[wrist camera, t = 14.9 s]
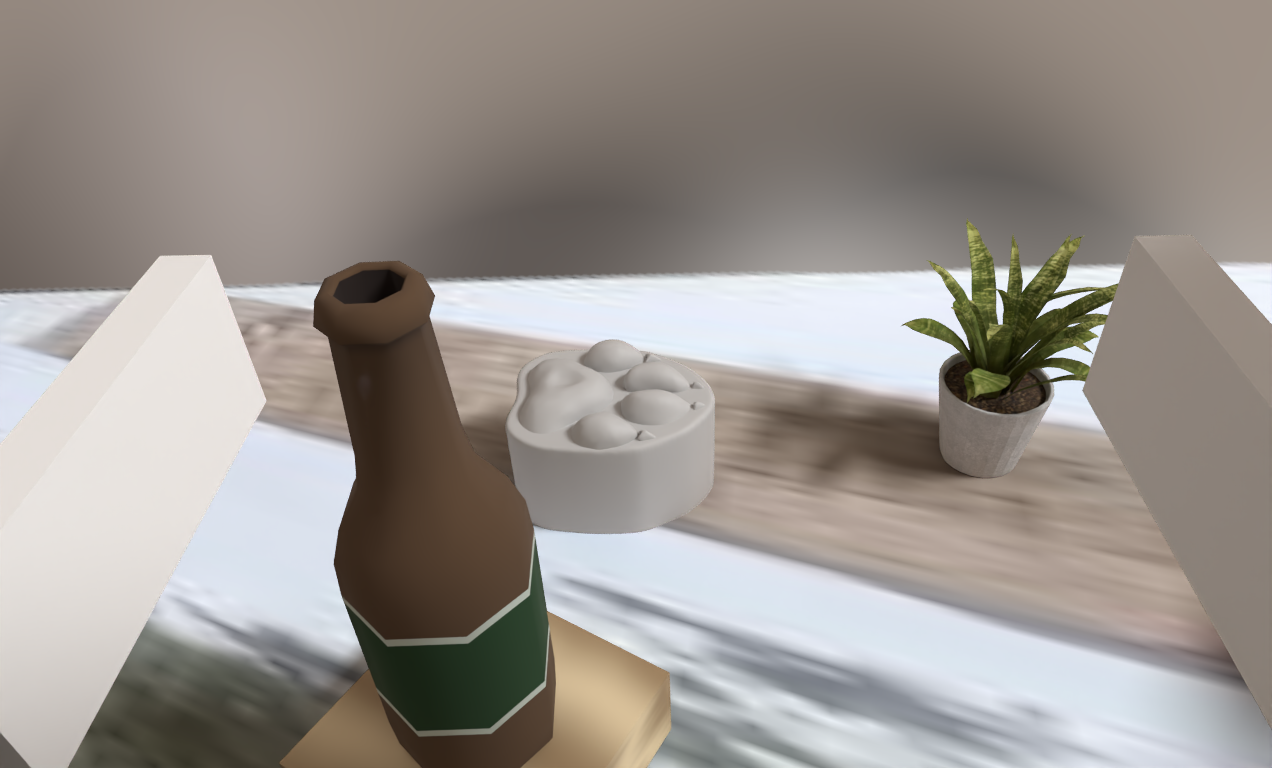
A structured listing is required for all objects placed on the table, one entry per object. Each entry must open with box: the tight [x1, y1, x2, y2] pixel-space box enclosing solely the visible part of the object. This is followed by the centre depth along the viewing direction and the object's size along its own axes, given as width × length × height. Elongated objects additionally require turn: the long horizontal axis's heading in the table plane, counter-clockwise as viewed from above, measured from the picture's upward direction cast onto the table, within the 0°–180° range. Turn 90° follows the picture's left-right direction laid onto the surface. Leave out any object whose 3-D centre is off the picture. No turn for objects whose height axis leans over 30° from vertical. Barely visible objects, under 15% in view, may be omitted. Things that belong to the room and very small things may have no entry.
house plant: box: [902, 219, 1118, 478], centre depth 57 cm, size 14×14×16 cm
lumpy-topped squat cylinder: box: [505, 340, 715, 534], centre depth 60 cm, size 10×13×9 cm
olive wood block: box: [279, 611, 671, 768], centre depth 45 cm, size 13×13×5 cm
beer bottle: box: [313, 261, 556, 768], centre depth 36 cm, size 8×8×24 cm
